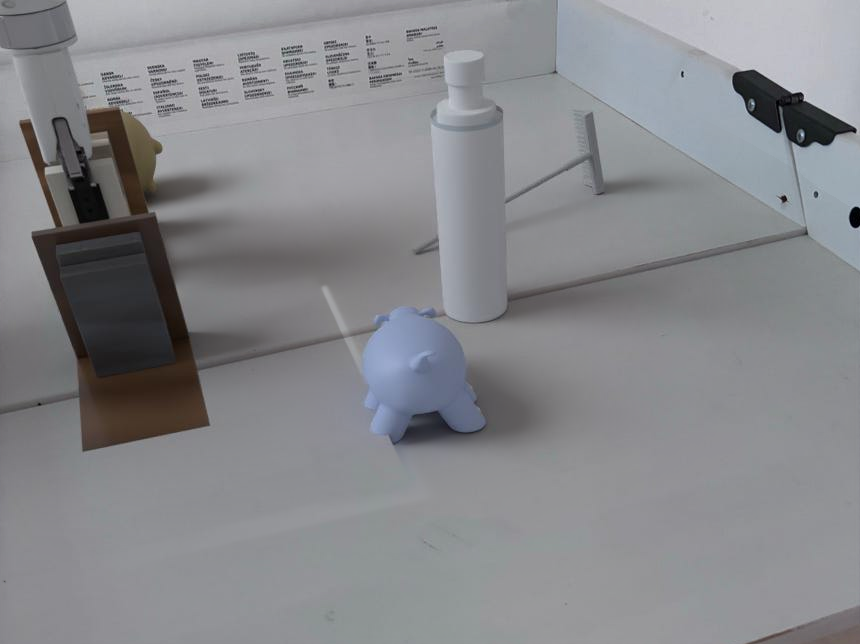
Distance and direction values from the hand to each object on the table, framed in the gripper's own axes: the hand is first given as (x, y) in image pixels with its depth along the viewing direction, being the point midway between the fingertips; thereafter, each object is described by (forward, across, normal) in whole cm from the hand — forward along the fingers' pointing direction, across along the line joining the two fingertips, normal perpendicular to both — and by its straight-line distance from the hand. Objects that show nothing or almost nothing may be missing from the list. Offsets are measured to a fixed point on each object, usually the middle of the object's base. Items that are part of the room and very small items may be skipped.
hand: (94, 217), depth 107 cm
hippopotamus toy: (+6, +41, +25) cm, 49 cm away
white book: (+5, 0, 0) cm, 5 cm away
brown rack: (+6, +30, +1) cm, 30 cm away
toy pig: (+6, -21, +3) cm, 22 cm away
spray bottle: (+6, +25, +36) cm, 44 cm away
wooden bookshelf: (+6, -3, 0) cm, 7 cm away
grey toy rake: (+6, +5, +47) cm, 48 cm away
